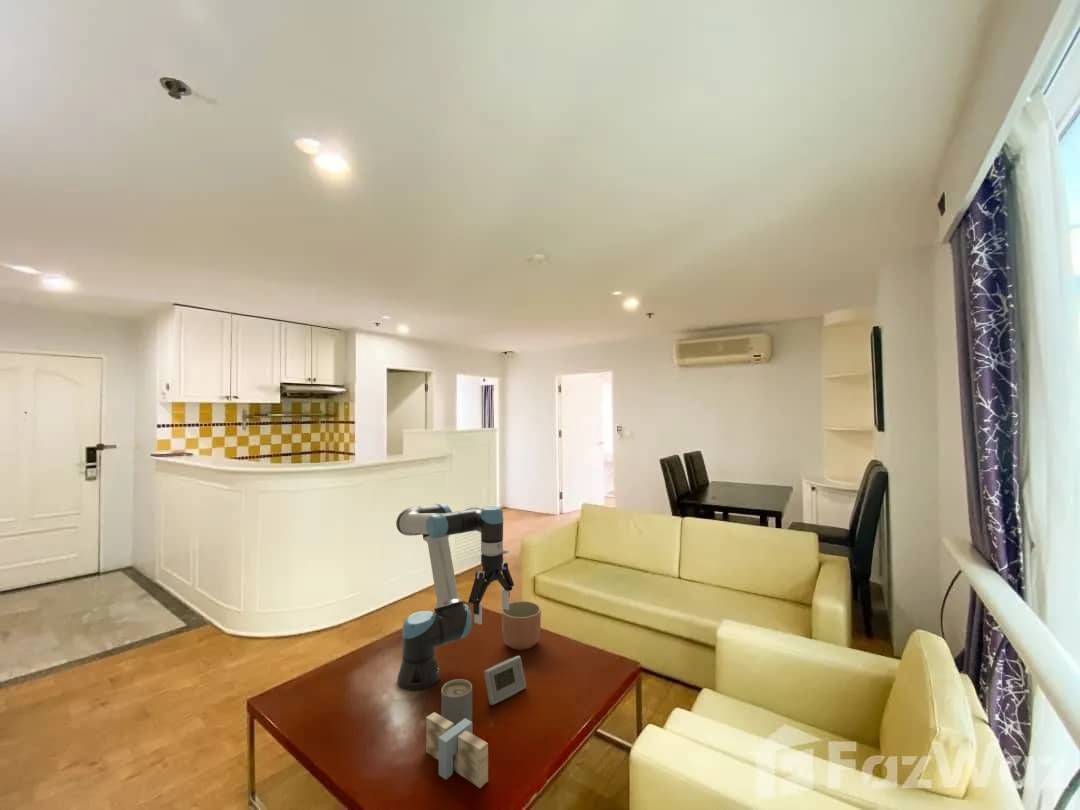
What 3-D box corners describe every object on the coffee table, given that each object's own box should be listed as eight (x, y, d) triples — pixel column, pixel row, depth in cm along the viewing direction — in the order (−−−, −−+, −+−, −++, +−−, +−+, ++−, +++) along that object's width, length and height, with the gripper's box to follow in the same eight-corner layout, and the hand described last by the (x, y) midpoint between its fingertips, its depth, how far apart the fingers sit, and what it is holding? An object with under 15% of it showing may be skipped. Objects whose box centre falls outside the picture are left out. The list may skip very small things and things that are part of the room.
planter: (540, 654, 187) (540, 617, 187) (499, 654, 187) (499, 617, 187) (541, 635, 204) (541, 600, 204) (503, 634, 204) (503, 600, 204)
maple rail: (426, 751, 132) (426, 717, 133) (434, 745, 135) (434, 711, 135) (480, 788, 119) (480, 749, 120) (488, 780, 122) (487, 743, 122)
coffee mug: (474, 725, 144) (474, 693, 144) (442, 732, 141) (442, 699, 141) (468, 700, 157) (468, 671, 157) (439, 706, 154) (439, 676, 154)
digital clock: (489, 708, 152) (489, 676, 153) (478, 694, 160) (478, 664, 160) (531, 693, 160) (530, 663, 161) (519, 681, 168) (519, 652, 168)
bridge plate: (438, 774, 124) (438, 737, 124) (465, 752, 132) (465, 718, 132) (446, 779, 122) (446, 742, 122) (472, 757, 130) (472, 722, 131)
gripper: (473, 564, 142) (474, 633, 141) (523, 546, 162) (523, 606, 161) (457, 560, 146) (457, 626, 146) (507, 542, 166) (507, 601, 166)
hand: (492, 615), depth 153 cm, fingers open, 13 cm apart
